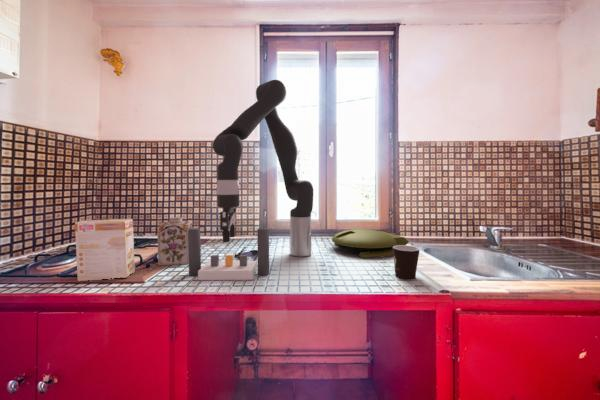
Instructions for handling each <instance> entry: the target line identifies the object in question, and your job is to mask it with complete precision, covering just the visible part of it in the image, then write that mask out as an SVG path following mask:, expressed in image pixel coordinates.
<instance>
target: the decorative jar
mask: <svg viewBox="0 0 600 400" xmlns="http://www.w3.org/2000/svg"><path fill="white" fill-rule="evenodd" d="M192 228H195V227H194V225H193V223H192V221H187V220H183V217H180V216H179V217H169V221H165V222H162V223H160V224H159V227H158V229H157V232H156V234H157V265H158V266H159V265H161V266H177V265H178V266H179V265H189V252H188V229H192Z"/></svg>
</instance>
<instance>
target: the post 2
mask: <svg viewBox="0 0 600 400" xmlns="http://www.w3.org/2000/svg"><path fill="white" fill-rule="evenodd" d="M256 232H257V233H256V234H257V250H258V257H257V275H258V276H261V277H262V276H265V277H266V276H268V275H270V228H268V227H260V228H257V231H256Z"/></svg>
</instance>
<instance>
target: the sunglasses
mask: <svg viewBox="0 0 600 400" xmlns="http://www.w3.org/2000/svg"><path fill="white" fill-rule="evenodd" d="M246 248H247V246H244V247H243V248H242V249H241V250H240V251H239V252H238V253H234V258H239V259H240V255H247V261H249V259H248V258H251V259H252V260H251V261H257V260H258V249H253V250H249V251H245V249H246ZM244 251H245V252H244Z"/></svg>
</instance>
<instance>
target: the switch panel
mask: <svg viewBox="0 0 600 400" xmlns="http://www.w3.org/2000/svg"><path fill="white" fill-rule="evenodd" d="M247 259H248V257H247V255H240V258H239V260H233V266H225V260H220V255H219V254H212V255H210V260H208V261H207V262H206V263H205V264H204V265H203V266H201V269H200V270H199V271H198V276H197V281H223V280H224V281H228V280H230V281H232V280H234V281H237V280H238V281H239V280H243V281H244V280H246V281H247V280H253V279H254V278H255V276H256V273H257V271H258V260H256V261H253V260H247ZM255 272H256V273H255Z"/></svg>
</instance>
